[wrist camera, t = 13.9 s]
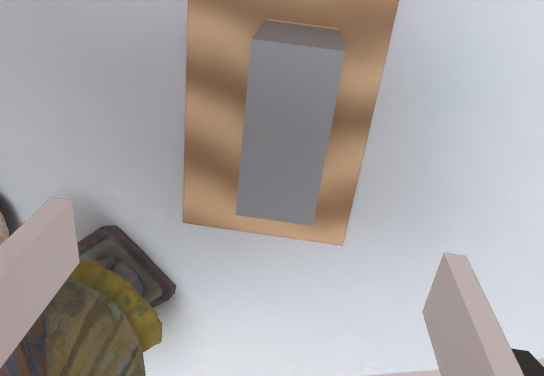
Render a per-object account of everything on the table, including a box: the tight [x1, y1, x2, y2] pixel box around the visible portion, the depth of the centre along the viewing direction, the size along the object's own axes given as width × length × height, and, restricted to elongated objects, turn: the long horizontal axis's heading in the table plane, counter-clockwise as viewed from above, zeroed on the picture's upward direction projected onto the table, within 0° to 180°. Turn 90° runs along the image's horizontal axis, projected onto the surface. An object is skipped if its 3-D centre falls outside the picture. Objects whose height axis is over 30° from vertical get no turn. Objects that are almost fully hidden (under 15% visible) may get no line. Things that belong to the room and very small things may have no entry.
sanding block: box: [236, 19, 345, 226], centre depth 30 cm, size 11×5×8 cm, turn 173°
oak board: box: [183, 0, 399, 246], centre depth 34 cm, size 24×14×1 cm, turn 173°
